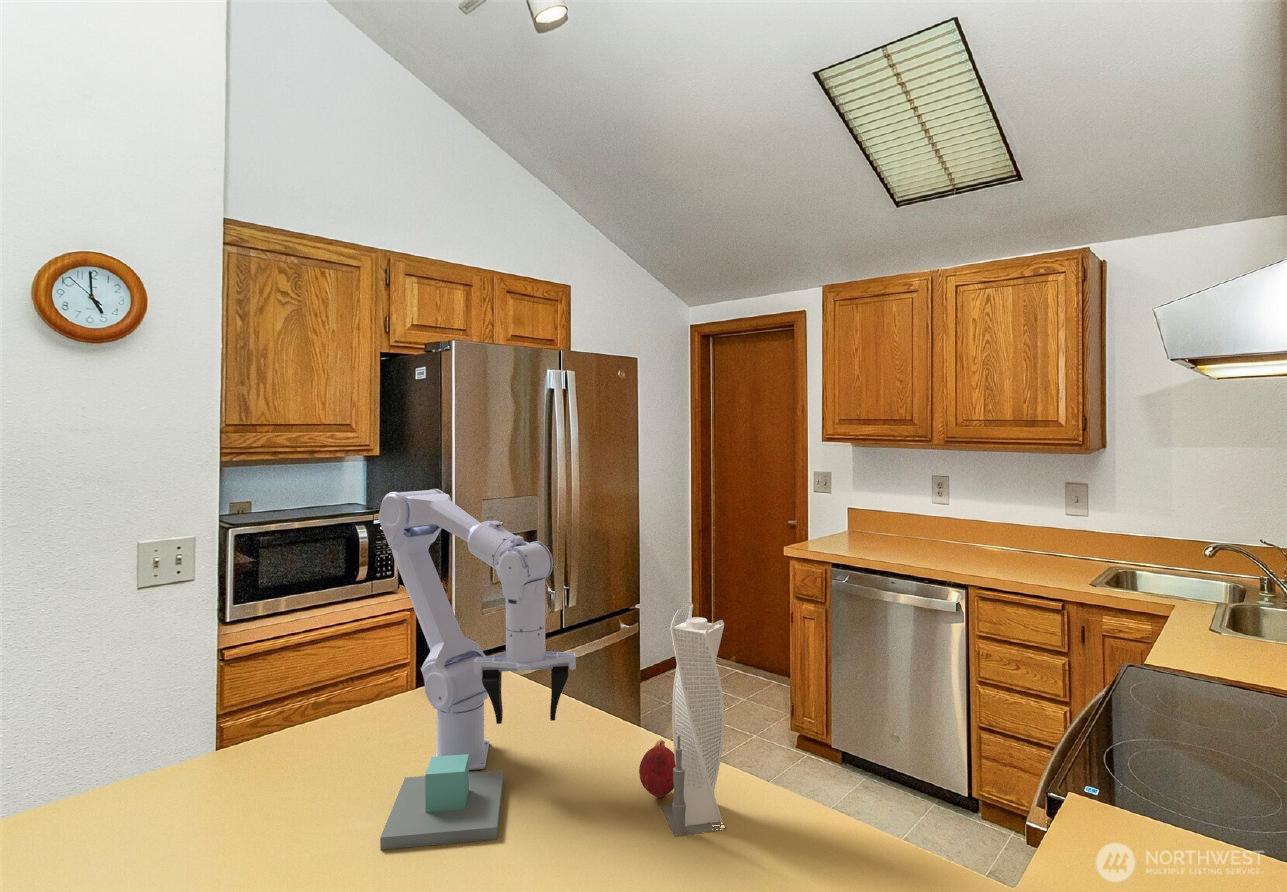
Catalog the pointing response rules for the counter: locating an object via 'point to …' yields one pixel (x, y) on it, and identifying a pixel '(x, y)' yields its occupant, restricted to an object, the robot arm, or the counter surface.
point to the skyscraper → (696, 726)
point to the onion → (658, 770)
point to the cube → (447, 783)
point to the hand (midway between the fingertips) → (526, 719)
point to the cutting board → (444, 814)
